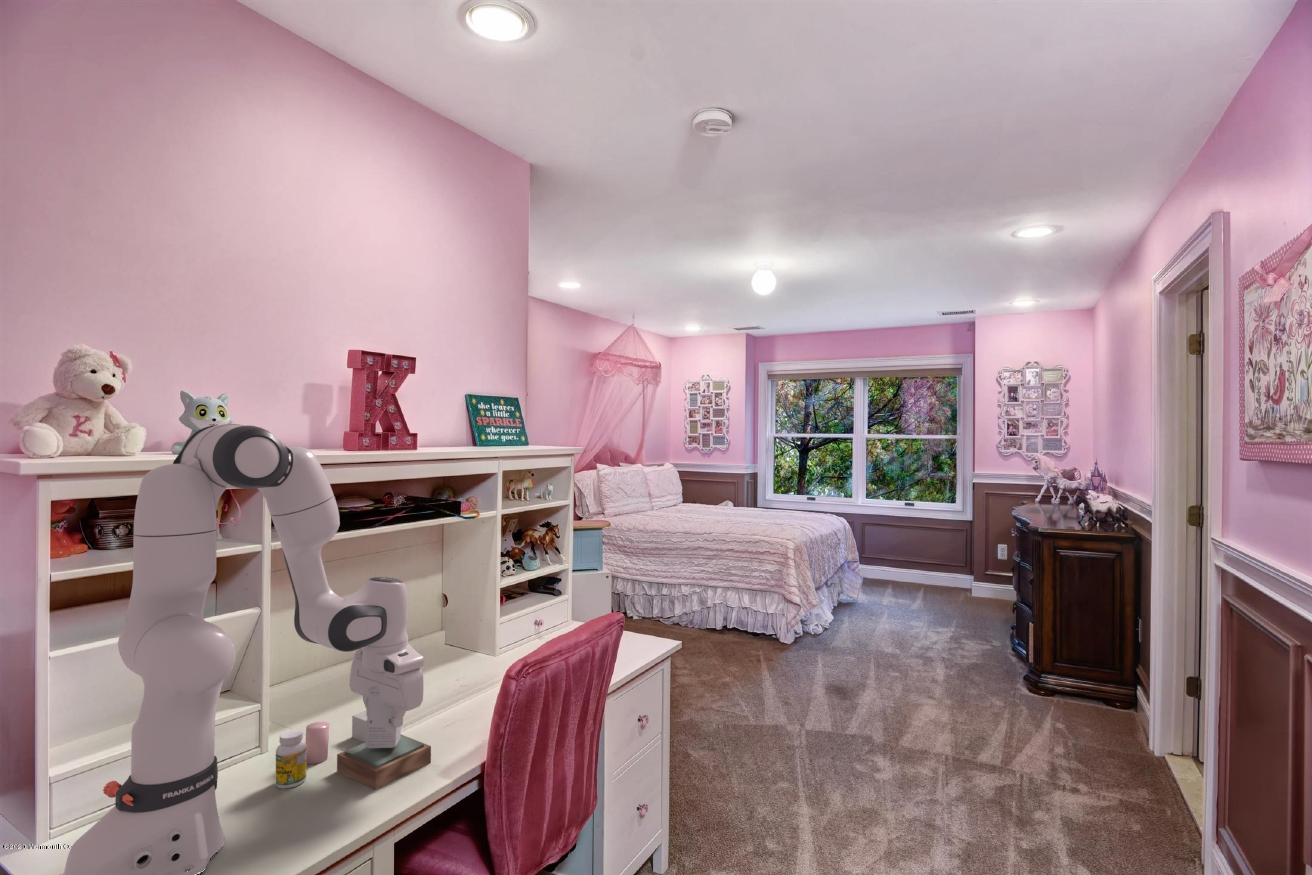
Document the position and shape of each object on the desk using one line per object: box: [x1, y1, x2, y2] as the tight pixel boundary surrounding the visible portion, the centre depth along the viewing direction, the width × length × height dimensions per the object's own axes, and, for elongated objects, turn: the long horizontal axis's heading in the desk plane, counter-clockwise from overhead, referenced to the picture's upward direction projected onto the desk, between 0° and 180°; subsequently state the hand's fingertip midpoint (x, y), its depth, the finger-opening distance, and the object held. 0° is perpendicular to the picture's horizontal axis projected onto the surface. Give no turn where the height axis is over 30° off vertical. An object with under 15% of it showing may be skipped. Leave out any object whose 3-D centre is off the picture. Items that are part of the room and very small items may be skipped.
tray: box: [336, 734, 432, 791], centre depth 137 cm, size 13×13×4 cm
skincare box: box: [366, 686, 402, 748], centre depth 137 cm, size 6×4×12 cm
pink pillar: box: [304, 721, 330, 765], centre depth 140 cm, size 4×4×7 cm
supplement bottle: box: [275, 729, 308, 789], centre depth 131 cm, size 5×5×10 cm
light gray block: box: [351, 710, 367, 743], centre depth 151 cm, size 5×5×5 cm
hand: (384, 721), depth 137 cm, fingers closed on skincare box, 7 cm apart
